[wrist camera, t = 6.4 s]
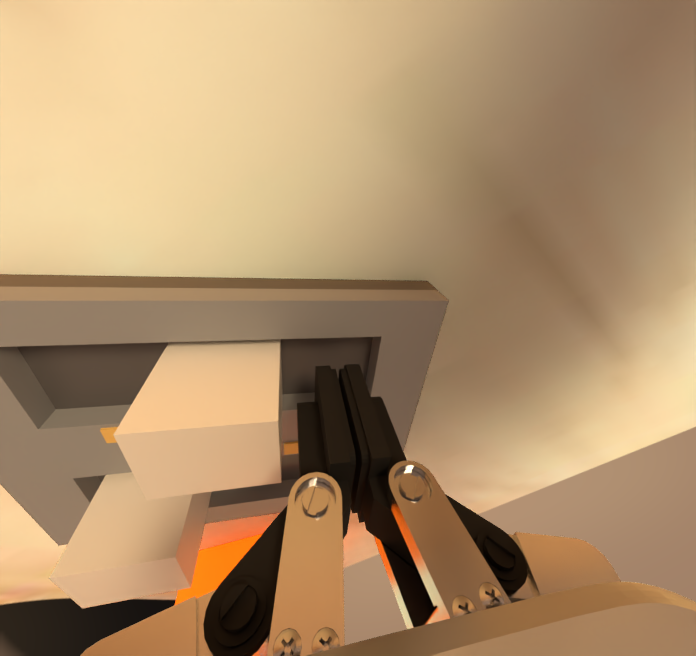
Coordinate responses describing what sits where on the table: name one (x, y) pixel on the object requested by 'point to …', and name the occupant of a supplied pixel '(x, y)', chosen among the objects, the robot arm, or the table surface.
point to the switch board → (147, 347)
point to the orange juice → (215, 567)
